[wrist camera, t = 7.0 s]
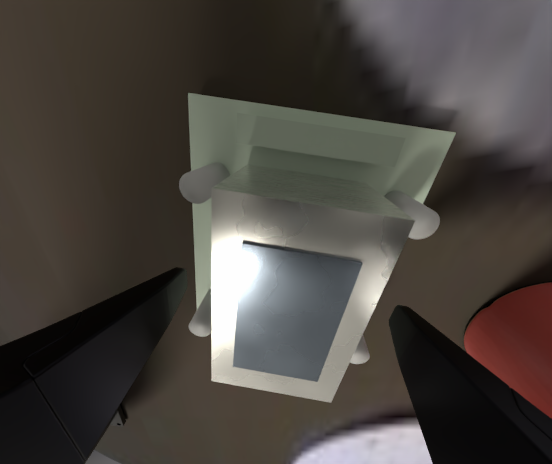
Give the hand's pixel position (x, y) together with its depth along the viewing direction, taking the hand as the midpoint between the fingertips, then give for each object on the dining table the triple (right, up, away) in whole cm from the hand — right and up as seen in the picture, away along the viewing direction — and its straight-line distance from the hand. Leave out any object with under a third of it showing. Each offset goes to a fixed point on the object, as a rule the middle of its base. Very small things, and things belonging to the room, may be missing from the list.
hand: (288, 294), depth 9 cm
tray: (0, +2, +4) cm, 4 cm away
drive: (0, +1, +3) cm, 3 cm away
